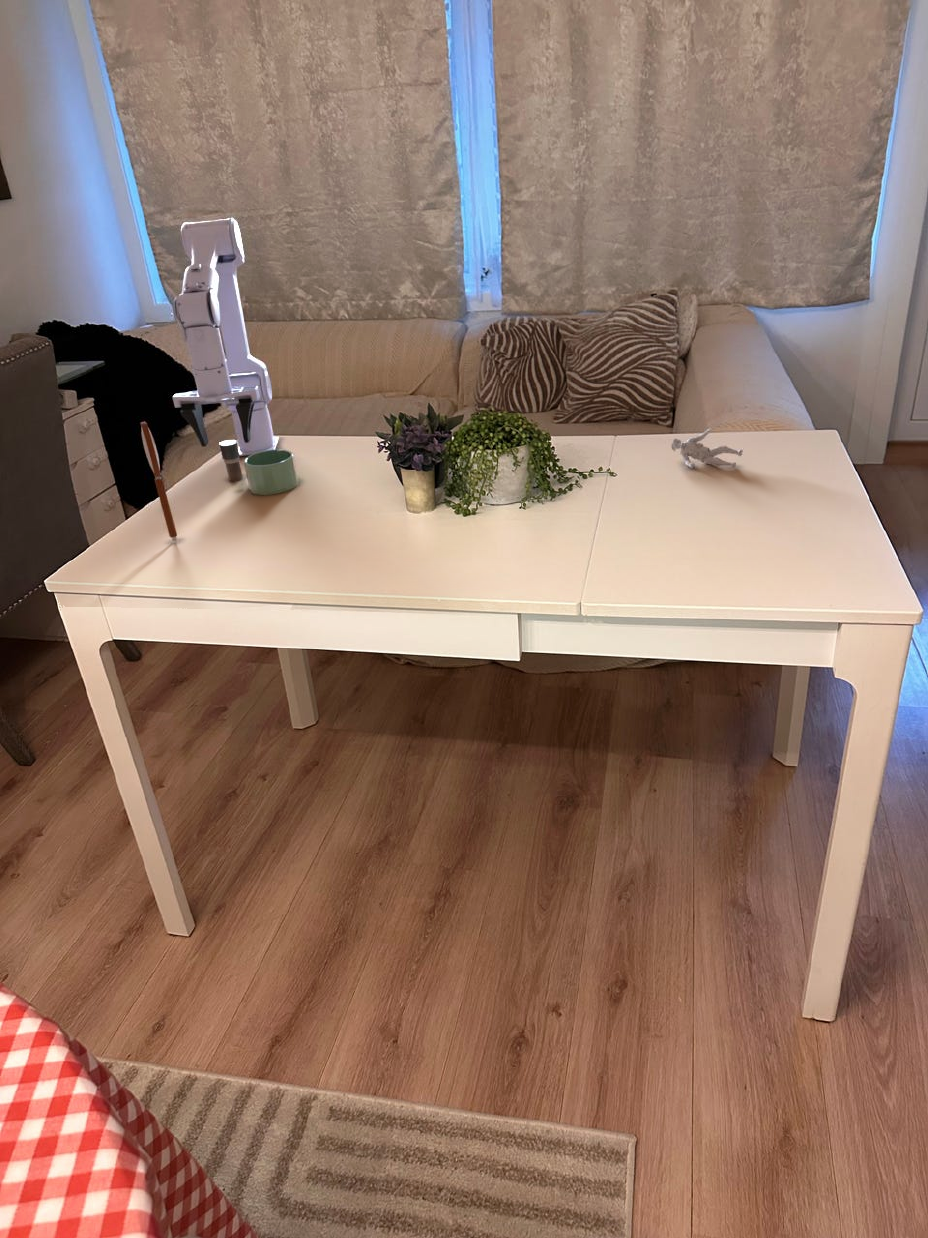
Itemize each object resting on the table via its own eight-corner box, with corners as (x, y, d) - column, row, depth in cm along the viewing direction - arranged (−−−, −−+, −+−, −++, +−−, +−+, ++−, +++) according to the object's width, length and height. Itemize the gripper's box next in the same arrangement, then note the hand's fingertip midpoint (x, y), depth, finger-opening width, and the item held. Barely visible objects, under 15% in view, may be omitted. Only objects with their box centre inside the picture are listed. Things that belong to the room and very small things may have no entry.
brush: (228, 476, 176) (220, 440, 172) (245, 474, 176) (237, 439, 172) (226, 482, 173) (218, 446, 170) (243, 480, 173) (235, 444, 170)
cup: (253, 480, 173) (247, 452, 170) (299, 475, 173) (294, 447, 170) (247, 497, 165) (241, 468, 162) (295, 491, 165) (290, 462, 163)
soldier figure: (726, 480, 155) (661, 453, 158) (725, 490, 159) (662, 463, 163) (747, 440, 155) (682, 414, 159) (745, 451, 160) (682, 425, 163)
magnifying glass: (183, 549, 147) (151, 428, 137) (172, 552, 146) (140, 430, 136) (177, 531, 154) (146, 414, 144) (166, 533, 153) (135, 416, 143)
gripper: (160, 375, 152) (180, 453, 159) (246, 367, 152) (262, 446, 158) (172, 365, 158) (190, 440, 165) (255, 357, 158) (269, 433, 165)
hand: (226, 442), depth 162 cm, fingers open, 7 cm apart
